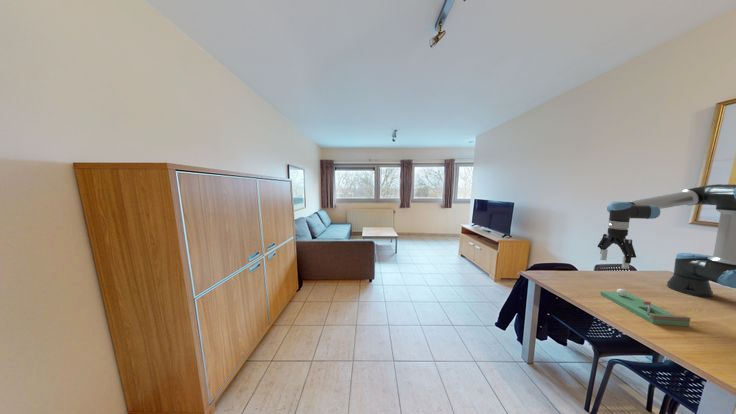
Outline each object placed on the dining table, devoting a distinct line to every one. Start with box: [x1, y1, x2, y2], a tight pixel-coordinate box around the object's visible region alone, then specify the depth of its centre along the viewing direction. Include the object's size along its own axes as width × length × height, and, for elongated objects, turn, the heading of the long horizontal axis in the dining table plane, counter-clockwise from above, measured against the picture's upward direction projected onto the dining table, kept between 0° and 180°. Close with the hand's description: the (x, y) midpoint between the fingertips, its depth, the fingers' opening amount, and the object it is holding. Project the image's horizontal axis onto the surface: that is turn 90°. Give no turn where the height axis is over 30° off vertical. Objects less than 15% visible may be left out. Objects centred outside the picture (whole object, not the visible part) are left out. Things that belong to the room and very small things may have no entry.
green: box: [599, 290, 691, 327], centre depth 109 cm, size 15×26×9 cm, turn 171°
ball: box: [616, 288, 629, 296], centre depth 117 cm, size 4×4×4 cm
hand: (613, 263), depth 122 cm, fingers open, 12 cm apart
